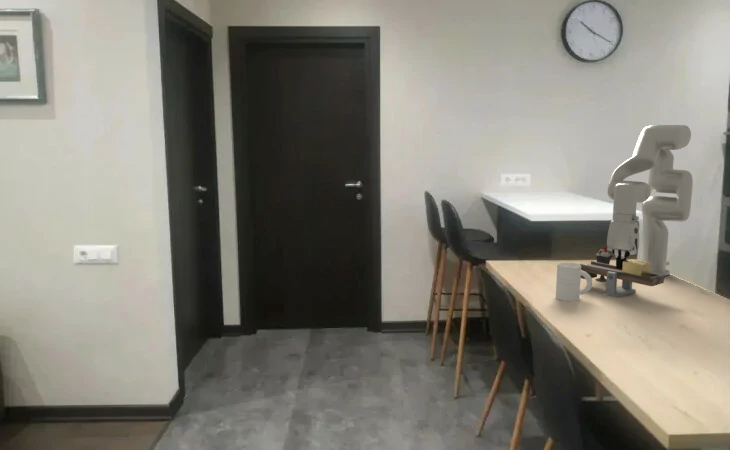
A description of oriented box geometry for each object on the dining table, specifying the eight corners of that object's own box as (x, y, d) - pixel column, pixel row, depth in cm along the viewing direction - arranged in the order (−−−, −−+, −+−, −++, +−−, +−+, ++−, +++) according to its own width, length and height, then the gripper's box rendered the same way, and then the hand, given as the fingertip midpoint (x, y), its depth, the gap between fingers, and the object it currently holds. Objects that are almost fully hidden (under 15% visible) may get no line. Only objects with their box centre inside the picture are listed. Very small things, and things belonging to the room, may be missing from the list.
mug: (592, 303, 212) (593, 269, 210) (555, 300, 216) (557, 266, 214) (590, 296, 220) (592, 263, 218) (555, 294, 223) (557, 261, 222)
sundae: (608, 283, 238) (610, 245, 236) (590, 280, 242) (592, 243, 240) (613, 279, 243) (615, 242, 241) (596, 277, 247) (598, 240, 245)
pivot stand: (620, 288, 231) (621, 266, 229) (635, 291, 226) (637, 269, 225) (601, 294, 223) (603, 271, 222) (617, 297, 218) (618, 274, 217)
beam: (590, 274, 237) (591, 259, 236) (662, 291, 216) (664, 274, 215) (578, 278, 233) (579, 262, 232) (651, 295, 211) (652, 277, 210)
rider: (631, 272, 223) (632, 259, 222) (649, 276, 217) (651, 262, 217) (621, 275, 219) (622, 261, 219) (640, 279, 214) (641, 265, 213)
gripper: (649, 219, 216) (646, 270, 219) (610, 214, 228) (607, 263, 231) (638, 221, 212) (634, 274, 215) (598, 216, 224) (596, 266, 226)
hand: (620, 268), depth 223 cm, fingers closed
